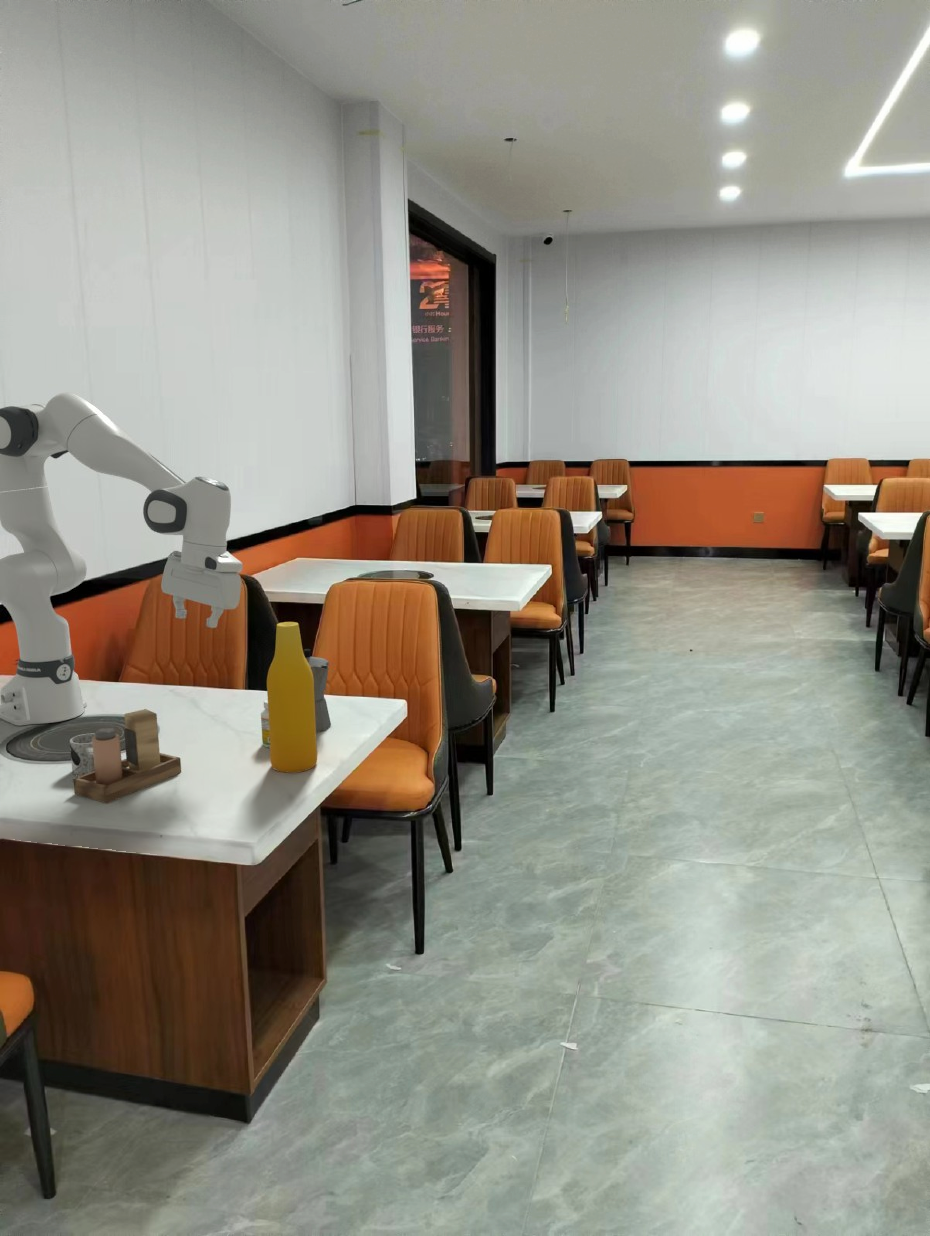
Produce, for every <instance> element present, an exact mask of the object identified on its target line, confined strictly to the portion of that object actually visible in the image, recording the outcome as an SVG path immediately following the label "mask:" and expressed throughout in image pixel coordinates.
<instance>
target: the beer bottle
mask: <svg viewBox="0 0 930 1236" xmlns="http://www.w3.org/2000/svg"><path fill="white" fill-rule="evenodd" d="M300 632H301V631H300V625H299V623H298V622H295V621H284V622H279V623H277V624H276V633H275V650H274V656H273V659H272V662H271V664H270V666H269V668H268V671H267V677H266V689H267V690H266V692H267V694H266V695H267V699H268V714H269V732H270V747H269V751H270V753H269V754H270V755H269V757H270V763H271V767H272V768H273V770H275V771H276V772H277V771H278V772H281V773H287V772H288V773H300V772H305V771H309V770H312V769H313V768H314V767H315V766H316V764H317V763H318V749H317V746H318V745H317V732H316V725H315V701H314V679H313V673H312V670H311V668H310V666H309V664H308V662H307V660H306V658H305V656H304V651H303V650H304V649H303V645H302V638H301V637H302V636H301V633H300Z"/></svg>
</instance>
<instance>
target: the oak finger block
mask: <svg viewBox="0 0 930 1236" xmlns="http://www.w3.org/2000/svg"><path fill="white" fill-rule="evenodd" d="M157 717H158V715H157V713H156V712H154V711H151V710H148V709H147V708H144V709H139V710H135V711H131V712H127V713H124V725H125V728H124V729H123V732H124V733H123V734H124V744H125V745H124V747H125V757H126V758H125V759H126V760H127V761H128V762H129V768H130V769H133V770H137V771H141V772H142V771H144V770H147V769H149V768H152V767H154V766H157V765H159V764H160V753H161V752H160V742H159V741H160V740H159V727H158V718H157Z"/></svg>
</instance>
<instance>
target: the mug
mask: <svg viewBox="0 0 930 1236" xmlns="http://www.w3.org/2000/svg"><path fill="white" fill-rule="evenodd" d="M94 736H95V732H94V733H92V732H91V733H85V734H79V735H75V736H73V737H72V738H70V739H69V750H70V751H69V752H70V761H71V769H72V770H71V771H72V774H73V775H74V776H76V775H77V776H76V777H79V776H82V775H84V774H87V773H90V772H92V771H95V766H94V755H93V745H92V738H93V737H94Z"/></svg>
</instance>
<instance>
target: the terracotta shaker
mask: <svg viewBox="0 0 930 1236" xmlns="http://www.w3.org/2000/svg"><path fill="white" fill-rule="evenodd" d="M94 733H95V736H94V737H93V738H92V745H93V755H94V766H95V777H96V783H99V784H102V785H106V786H107V785H109V784H112V783H114V782H117V781H119V780H122V779H123V773H122V761H121V760H122V752H121V751H122V750H121V741H120V740H121V739H120V734H118V733H116V729H115V728H112V727H110V728H109V727H107V728H100V729H99V728H98V729H97V730H95V731H94Z"/></svg>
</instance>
